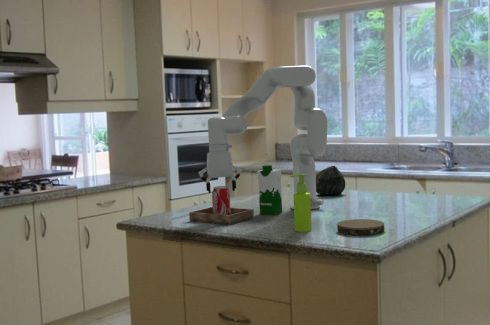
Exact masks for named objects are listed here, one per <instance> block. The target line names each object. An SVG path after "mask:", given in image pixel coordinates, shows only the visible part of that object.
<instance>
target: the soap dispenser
mask: <svg viewBox="0 0 490 325" xmlns="http://www.w3.org/2000/svg"><path fill="white" fill-rule="evenodd" d="M296 176H299V183H298V184H297V193H294V192H293V204H294V209H293V216H294V218H293V219H294V231H295V232H299V233H307V232H311V231H312V211H311V210H312V209H311V200H310V193H308V192H307V188H306V183H304V176H306V175H305V174H294V175H293V174H291V175H289V177H290V178H293V177H296Z"/></svg>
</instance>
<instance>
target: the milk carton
mask: <svg viewBox="0 0 490 325" xmlns="http://www.w3.org/2000/svg"><path fill="white" fill-rule="evenodd" d="M261 168H262V169H260V170H257V171H256V174H257V180H258V201H259V202H258V204H259V215H266V216H267V215H269V216H276V215H279V214H280V213H283V202H282V201H283V200H282V198H283V197H282V169H280V168H279V169H278V168H275V169H273V165H272V164H271V165H270V164H267V165H265V164H264V165H262V166H261Z"/></svg>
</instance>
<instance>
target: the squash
mask: <svg viewBox="0 0 490 325" xmlns="http://www.w3.org/2000/svg"><path fill="white" fill-rule="evenodd" d="M315 175H316V194H318V195H319V196H325V195H332V196H339V195H341V194H343V192H344V191H345V189H346V180H345V178H344V175H343V174H342V172H341V171H340V170H339V169H338V167H337V166H336V165H331V166H328V167H326V168H324V169H322V170H320V171H319V172H318V173H317V174H315Z"/></svg>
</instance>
